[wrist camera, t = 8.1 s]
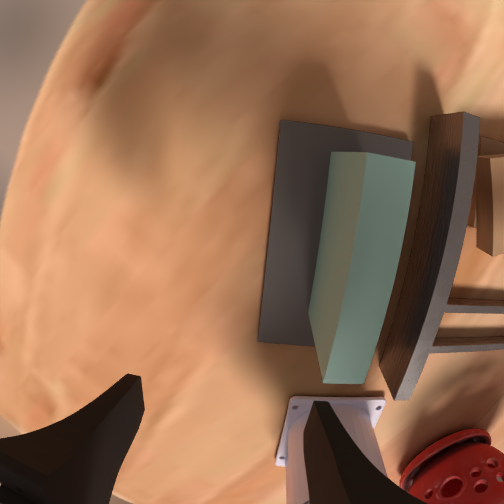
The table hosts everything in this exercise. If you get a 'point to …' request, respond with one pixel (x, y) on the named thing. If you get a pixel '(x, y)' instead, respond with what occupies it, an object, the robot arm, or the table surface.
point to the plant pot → (457, 471)
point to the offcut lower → (484, 148)
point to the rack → (437, 258)
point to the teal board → (357, 259)
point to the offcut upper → (490, 203)
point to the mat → (304, 220)
